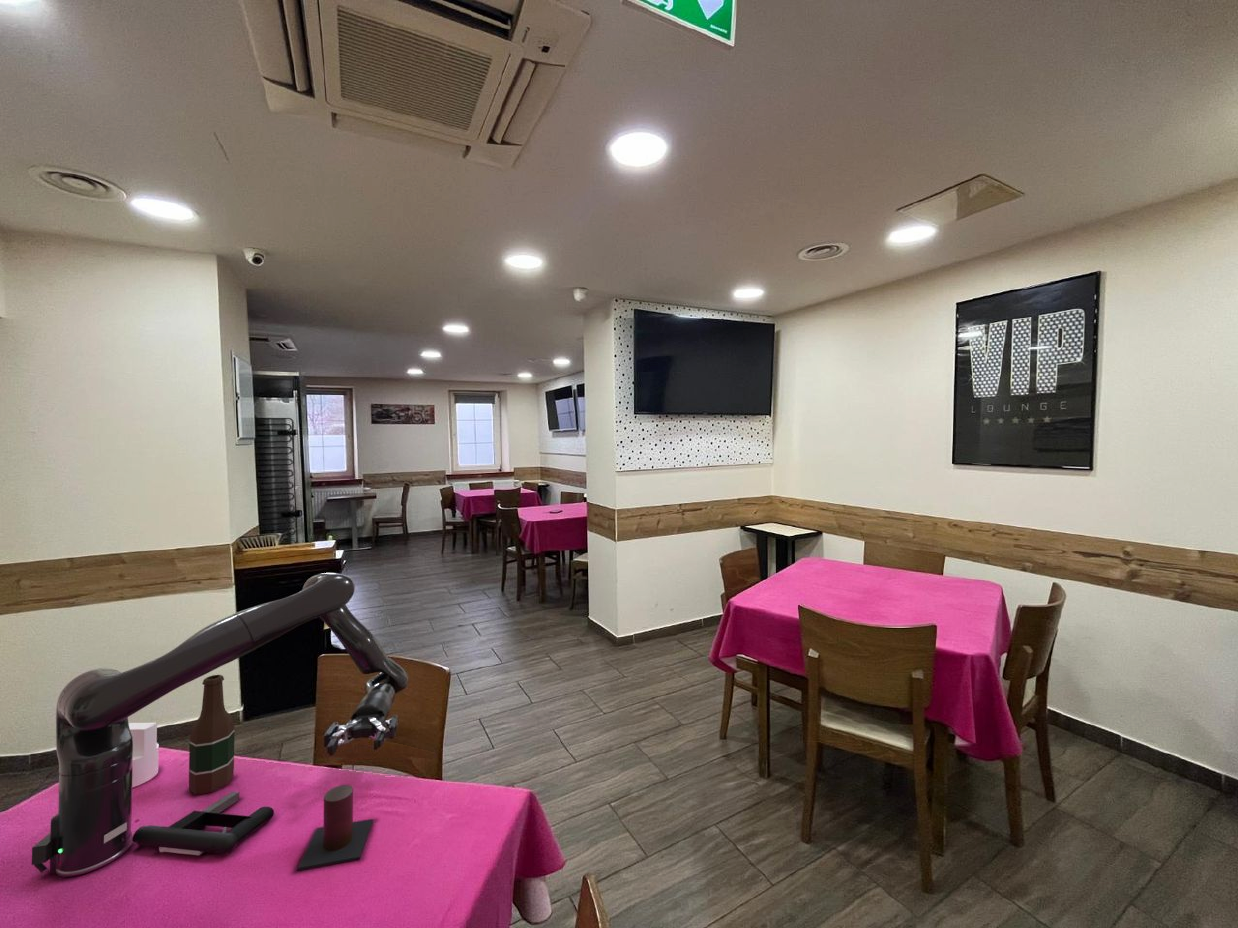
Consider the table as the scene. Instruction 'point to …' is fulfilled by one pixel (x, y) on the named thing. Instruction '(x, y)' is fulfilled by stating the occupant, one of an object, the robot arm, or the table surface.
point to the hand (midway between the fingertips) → (353, 748)
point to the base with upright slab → (144, 752)
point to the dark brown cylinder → (338, 817)
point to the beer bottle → (211, 742)
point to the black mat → (322, 857)
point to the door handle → (195, 841)
